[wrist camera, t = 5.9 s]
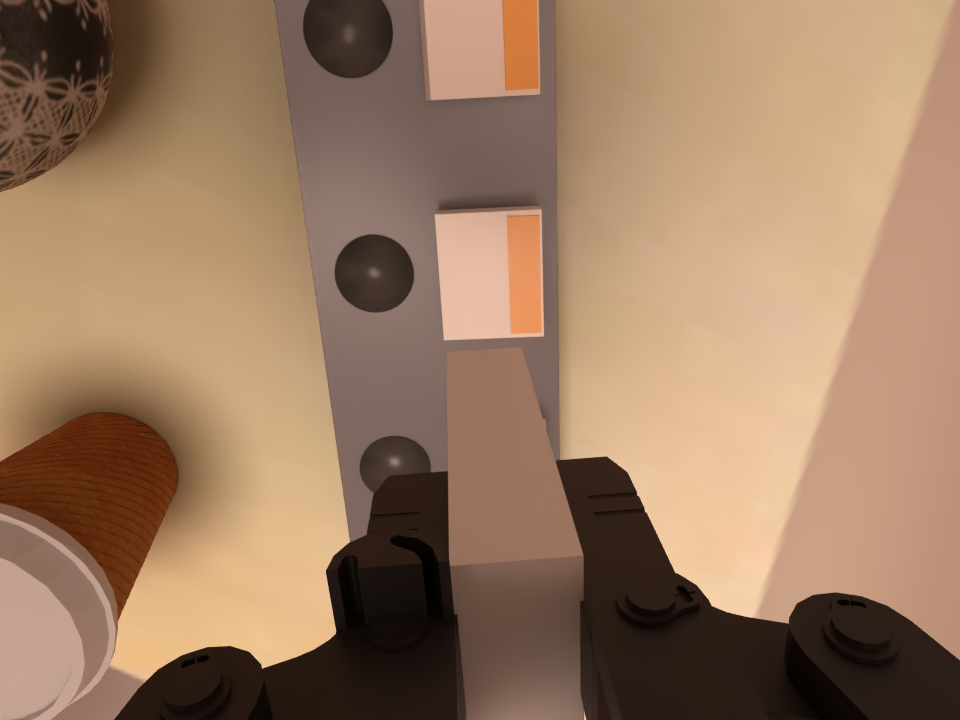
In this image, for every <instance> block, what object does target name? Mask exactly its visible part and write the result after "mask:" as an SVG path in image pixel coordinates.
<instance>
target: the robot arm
mask: <svg viewBox="0 0 960 720" xmlns="http://www.w3.org/2000/svg"><path fill="white" fill-rule="evenodd" d="M447 429H448V471H442V472H429V473H416V474H403V475H390V476H388V478H387V479H386V480H385V481H384V482H383V483H382V485H381V486H380V487H379V488H378V489H377V491H376V492H375V493H374V494H373V499H372V505H371V510H370V519H369V522H368V528H367V535H365V536H363V537H361V538H358V539H356V540H354V541H352V542H350V543H348V544H347V545H346V546H345V547H344V548H342V549H341V550H340V551H339V552H338V553H337V554H335V555H334V557H333V558H332V560H331V562H330V564H329V566H328V568H327V570H326V575H327V581H328V586H329V592H330V598H331V603H332V609H333V615H334V620H335V626H336V634H335V635H334V636H333V637H332V638H331V639H330V640H328V641H327V642H325V643H324V644H322V645H321V646H319V647H318V648H316V649H314V650H312V651H310V652H307V653H305V654H303V655H301V656H298V657H296V658H293V659H290V660H287V661H284V662H281V663H278V664H275V665H272V666H269V667H266V668H263V669H262V666H261V664H260V663H259V662H258V661H257V660H256V659H255V658H254V656H253V655H252V654H251V653H250V652H248V651H244V650H241V649H238V648H235V647H231V646H223V647H207V648H203V649H200V650H197V651H194V652H191V653H188V654H185V655H182V656H180V657H178V658H177V659H175V660H173V661H172V662H170V663H168V664H167V665H165V666H163V667H162V668H160V669H158V670H157V671H156V672H155V673H154V674H153V675H152V676H151V677H150V678H149V679H148V680H147V681H146V682H145V683H144V684H143V685H142V686H141V687H140V688H139V689H138V690H137V691H136V693H135V694H134V695H133V696H132V698H131V699H130V700H129V702H128V703H127V704H126V705H125V707H124V708H123V709H122V710H121V712H120V713H119V714H118V715H117V717H116V718H115V719H114V720H584V711H585V716H586V720H960V660H959V659H957V658H956V657H955V656H954V655H952V654H951V653H950V652H949V651H947V650H946V649H945V648H944V647H943V646H941V645H940V644H939V643H938V642H936V641H935V640H934V639H933V638H931V637H930V636H929V635H928V634H926V633H925V632H924V631H923V630H922V629H920V628H919V627H918V626H917V625H915V624H914V623H913V622H912V621H910V620H909V619H907V618H906V617H904V616H902V615H901V614H899V613H898V612H896V611H895V610H893V609H891V608H890V607H888V606H886V605H883V604H881V603H878V602H875V601H873V600H870V599H867V598H864V597H862V596H856V595H849V594H842V593H827V594H818V595H812V596H811V597H808V598H807V599H805V600H803V601H801V602H799V603H797V605H796V606H795V608H794V610H793V612H792V614H791V616H790V617H789V624H787V623H781V622H774V621H768V620H762V619H756V618H749V617H744V616H740V615H736V614H731V613H727V612H725V611H722V610H720V609H717V608H715V607H712V606H711V604H710V602H709V600H708V599H707V598H706V596H705V595H704V594H703V593H702V591H701V590H700V589H699V588H698V586H697V585H695V584H694V583H692V582H691V581H689V580H687V579H686V578H684V577H682V576H681V575H679V574H677V573H675V571H674V569H673V567H672V565H671V563H670V561H669V559H668V557H667V555H666V553H665V550H664V548H663V546H662V544H661V542H660V540H659V538H658V536H657V534H656V531H655V529H654V527H653V525H652V523H651V521H650V519H649V517H648V515H647V513H645V509H644V506H643V504H642V502H641V500H640V498H639V496H637V491H636V489H635V487H634V485H633V483H632V481H631V479H630V477H629V475H628V473H627V472H626V471H625V470H624V469H622V468H621V467H620V466H618V465H617V464H616V463H614V462H613V461H612V460H611V459H609V458H608V457H595V458H582V459H569V460H556V461H555V458H554V455H553V451H552V448H551V445H550V441H549V438H548V434H547V431H546V428H545V424H544V421H543V418H542V414H541V411H540V408H539V404H538V401H537V398H536V394H535V391H534V387H533V384H532V381H531V377H530V374H529V371H528V367H527V364H526V361H525V357H524V354H523V350H522V347H514V348H500V349H486V350H473V351H459V352H447Z"/></svg>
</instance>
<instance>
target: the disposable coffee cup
mask: <svg viewBox="0 0 960 720" xmlns="http://www.w3.org/2000/svg"><path fill="white" fill-rule="evenodd" d="M177 483H178V470H177V466H176V462H175V459H174V457H173V455H172V453H171V451H170V449H169V447H168V446H167V444H166V443H165V442H164V440H163V439H162V438H161V437H160V436H159V435H158V434H157V433H156V432H154V431H153V430H152V429H150V428H149V427H148V426H146V425H145V424H143V423H141V422H138V421H136V420H134V419H132V418H130V417H126V416H123V415H119V414H112V413H95V414H88V415H84V416H80V417H78V418H76V419H74V420H72V421H69V422H68V423H67V424H65V425H63V426H62V427H60V428H58V429H56V430H55V431H53V432H51V433H50V434H48V435H46V436H44V437H42V438H41V439H39V440H37V441H35V442H34V443H32V444H30V445H29V446H27V447H25V448H23V449H22V450H20V451H18V452H16V453H14V454H13V455H11V456H9V457H7V458H6V459H4V460H2V461H1V462H0V720H51V719H52V718H53V717H54V716H56V715H57V714H58V713H59V712H60V711H62V710H63V709H64V708H65V707H67V706H68V705H70V704H72V703H73V702H75V701H76V700H78V699H79V698H81V697H82V696H84V695H85V694H87V693H88V692H89V691H90V690H91V689H92V688H93V687H94V686H95V685H96V684H97V683H98V682H99V681H100V679H101V678H102V676H103V674H104V673H105V671H106V670H107V668H108V667H109V664H110V662H111V659H112V657H113V654H114V651H115V645H116V638H117V631H118V620H119V617H120V615H121V613H122V610H123V608H124V606H125V604H126V601H127V599H128V597H129V595H130V592H131V589H132V588H133V586H134V583H135V581H136V578H137V577H138V574H139V572H140V569H141V567H142V566H143V563H144V561H145V559H146V556H147V554H148V552H149V550H150V547H151V545H152V542H153V540H154V538H155V536H156V533H157V531H158V529H159V527H160V524H161V522H162V520H163V517H164V516H165V513H166V511H167V509H168V507H169V504H170V501H171V500H172V497H173V496H174V494H175V492H176V487H177Z"/></svg>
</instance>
